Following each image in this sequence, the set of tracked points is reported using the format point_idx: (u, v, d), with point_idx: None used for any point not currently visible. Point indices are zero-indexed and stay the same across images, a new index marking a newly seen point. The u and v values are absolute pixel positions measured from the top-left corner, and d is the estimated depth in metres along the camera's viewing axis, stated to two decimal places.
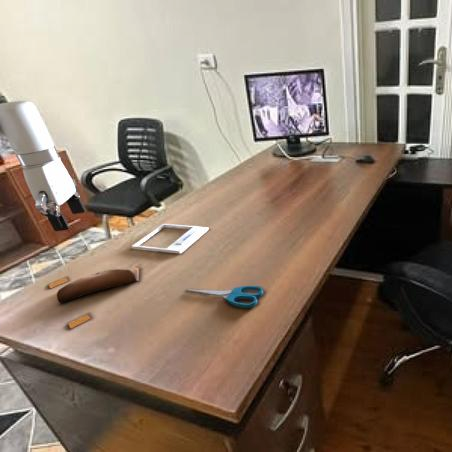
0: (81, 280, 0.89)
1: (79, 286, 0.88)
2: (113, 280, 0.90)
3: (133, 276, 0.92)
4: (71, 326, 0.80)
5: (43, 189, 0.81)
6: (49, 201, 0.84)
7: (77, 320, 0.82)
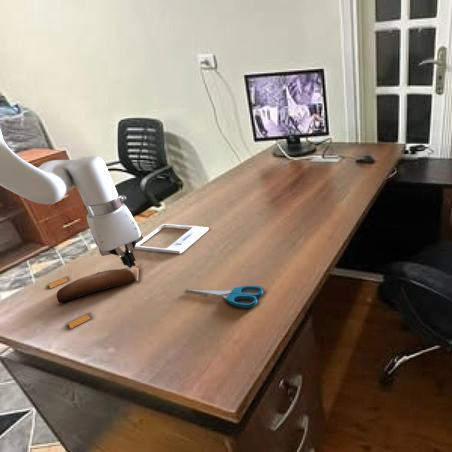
0: (81, 280, 0.89)
1: (79, 286, 0.88)
2: (112, 280, 0.90)
3: (133, 276, 0.92)
4: (71, 326, 0.80)
5: (96, 240, 0.89)
6: None
7: (77, 320, 0.82)
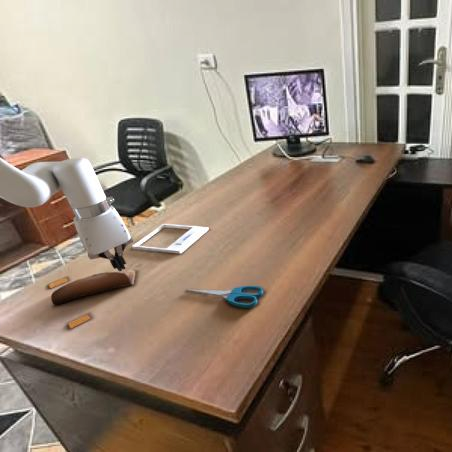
0: (76, 282, 0.89)
1: (73, 289, 0.87)
2: (107, 284, 0.89)
3: (128, 280, 0.91)
4: (71, 326, 0.80)
5: (84, 243, 0.87)
6: None
7: (77, 320, 0.82)
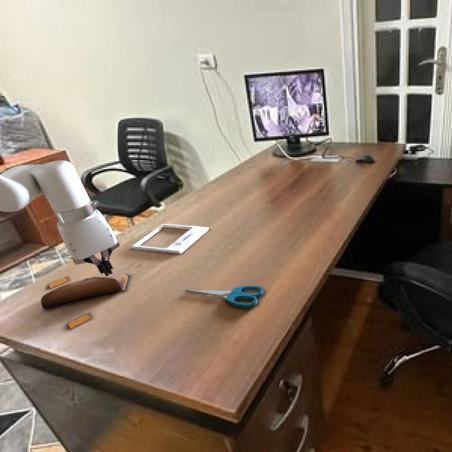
0: (67, 286, 0.87)
1: (63, 293, 0.86)
2: (97, 289, 0.88)
3: (118, 285, 0.89)
4: (71, 326, 0.80)
5: None
6: None
7: (77, 320, 0.82)
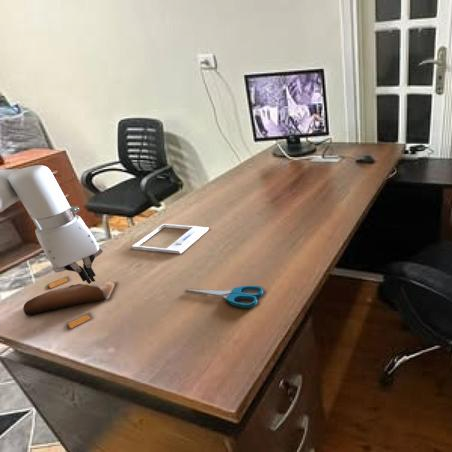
0: (50, 293, 0.85)
1: (46, 300, 0.84)
2: (80, 297, 0.85)
3: (101, 294, 0.86)
4: (71, 326, 0.80)
5: None
6: None
7: (77, 320, 0.82)
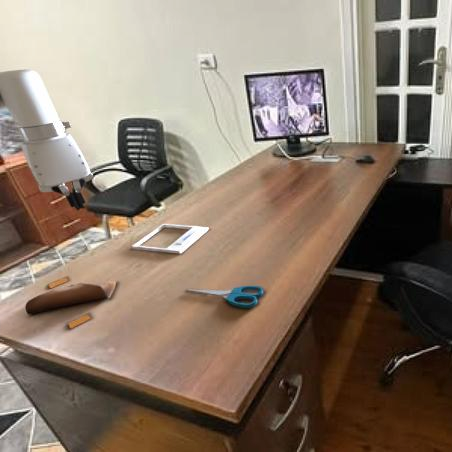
0: (52, 292, 0.86)
1: (48, 299, 0.85)
2: (82, 296, 0.85)
3: (103, 293, 0.87)
4: (71, 326, 0.80)
5: None
6: None
7: (77, 320, 0.82)
